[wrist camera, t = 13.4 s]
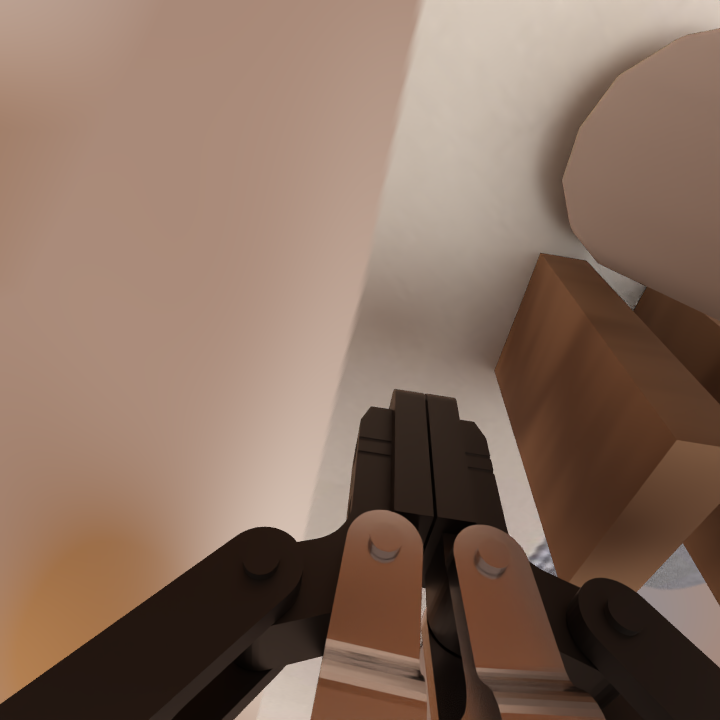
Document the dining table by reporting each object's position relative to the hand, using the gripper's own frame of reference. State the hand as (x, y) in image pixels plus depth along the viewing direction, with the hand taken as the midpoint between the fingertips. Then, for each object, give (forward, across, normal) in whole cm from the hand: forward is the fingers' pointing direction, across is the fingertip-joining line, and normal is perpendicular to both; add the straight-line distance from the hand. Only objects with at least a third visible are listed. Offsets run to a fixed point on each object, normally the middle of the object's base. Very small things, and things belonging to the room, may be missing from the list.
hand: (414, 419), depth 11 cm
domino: (+6, -5, 0) cm, 8 cm away
